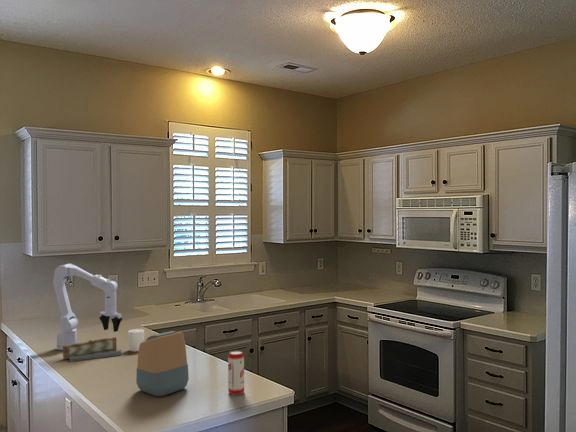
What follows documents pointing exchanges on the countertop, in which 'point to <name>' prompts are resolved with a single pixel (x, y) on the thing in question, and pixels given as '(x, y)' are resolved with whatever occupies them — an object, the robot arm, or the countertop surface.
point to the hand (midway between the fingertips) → (110, 330)
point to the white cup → (135, 339)
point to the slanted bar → (95, 355)
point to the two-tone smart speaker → (162, 364)
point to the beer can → (236, 373)
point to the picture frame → (89, 347)
